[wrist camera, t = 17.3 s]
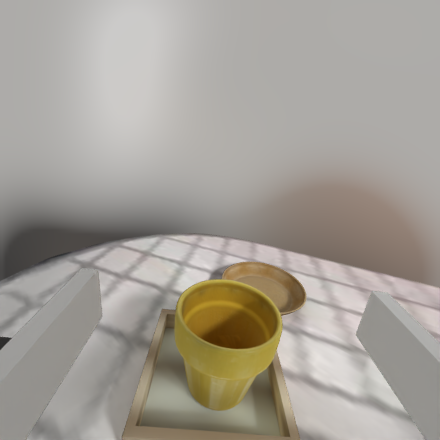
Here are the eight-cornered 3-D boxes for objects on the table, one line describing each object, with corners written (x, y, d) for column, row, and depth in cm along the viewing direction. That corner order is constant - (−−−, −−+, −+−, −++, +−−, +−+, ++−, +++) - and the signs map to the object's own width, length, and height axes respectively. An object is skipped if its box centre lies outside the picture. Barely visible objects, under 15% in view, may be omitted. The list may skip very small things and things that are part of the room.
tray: (294, 470, 21) (302, 449, 20) (122, 459, 20) (121, 436, 19) (264, 336, 35) (268, 319, 34) (161, 326, 34) (162, 308, 33)
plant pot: (222, 329, 34) (232, 268, 31) (282, 390, 27) (304, 320, 24) (153, 367, 27) (156, 295, 24) (209, 461, 20) (224, 378, 17)
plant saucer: (316, 299, 45) (319, 287, 44) (276, 343, 34) (280, 328, 33) (250, 265, 54) (252, 254, 53) (202, 291, 43) (204, 278, 42)
